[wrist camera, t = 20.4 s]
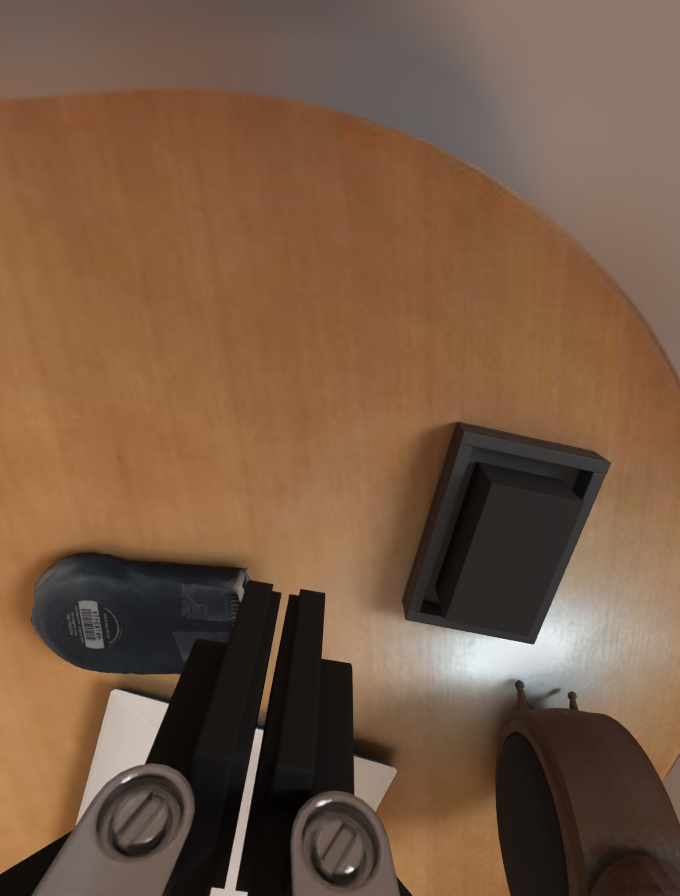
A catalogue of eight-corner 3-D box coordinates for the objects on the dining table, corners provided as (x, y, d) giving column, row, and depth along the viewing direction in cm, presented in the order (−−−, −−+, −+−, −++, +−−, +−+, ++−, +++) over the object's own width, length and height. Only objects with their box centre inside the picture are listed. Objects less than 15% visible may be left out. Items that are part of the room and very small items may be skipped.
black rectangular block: (476, 461, 31) (491, 482, 27) (559, 478, 31) (584, 502, 28) (434, 587, 34) (444, 620, 30) (511, 602, 34) (528, 636, 31)
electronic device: (252, 533, 35) (26, 545, 33) (248, 587, 30) (-16, 605, 28) (258, 628, 39) (59, 644, 37) (256, 690, 34) (26, 711, 32)
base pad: (456, 421, 31) (464, 431, 29) (594, 451, 31) (611, 462, 29) (401, 600, 35) (404, 620, 33) (523, 624, 35) (534, 645, 33)
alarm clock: (494, 650, 36) (655, 1055, 17) (592, 655, 36) (862, 1065, 17) (468, 792, 41) (573, 1233, 22) (555, 796, 41) (735, 1241, 22)
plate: (122, 669, 37) (110, 690, 35) (396, 747, 39) (399, 771, 37) (72, 856, 44) (59, 882, 42) (308, 914, 46) (306, 942, 44)
